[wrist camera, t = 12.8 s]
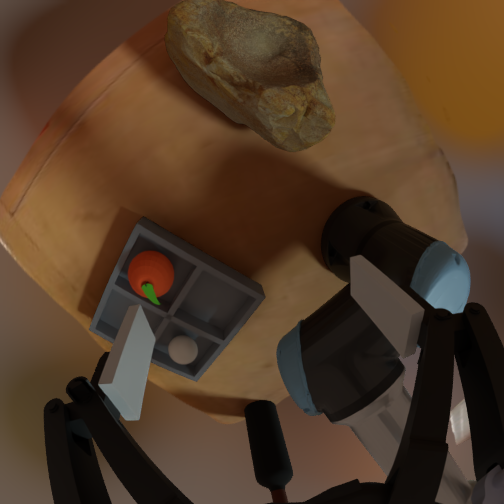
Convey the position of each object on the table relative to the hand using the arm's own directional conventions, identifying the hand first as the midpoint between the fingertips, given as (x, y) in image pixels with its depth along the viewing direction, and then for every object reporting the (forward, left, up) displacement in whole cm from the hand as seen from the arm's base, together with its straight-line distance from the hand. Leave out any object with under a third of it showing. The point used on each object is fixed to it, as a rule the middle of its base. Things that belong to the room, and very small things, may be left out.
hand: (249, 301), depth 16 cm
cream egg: (-6, +24, -26) cm, 36 cm away
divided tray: (-1, +19, -27) cm, 33 cm away
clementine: (+4, +14, -26) cm, 30 cm away
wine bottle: (-32, +36, -27) cm, 55 cm away
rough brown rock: (+8, -19, -27) cm, 34 cm away
